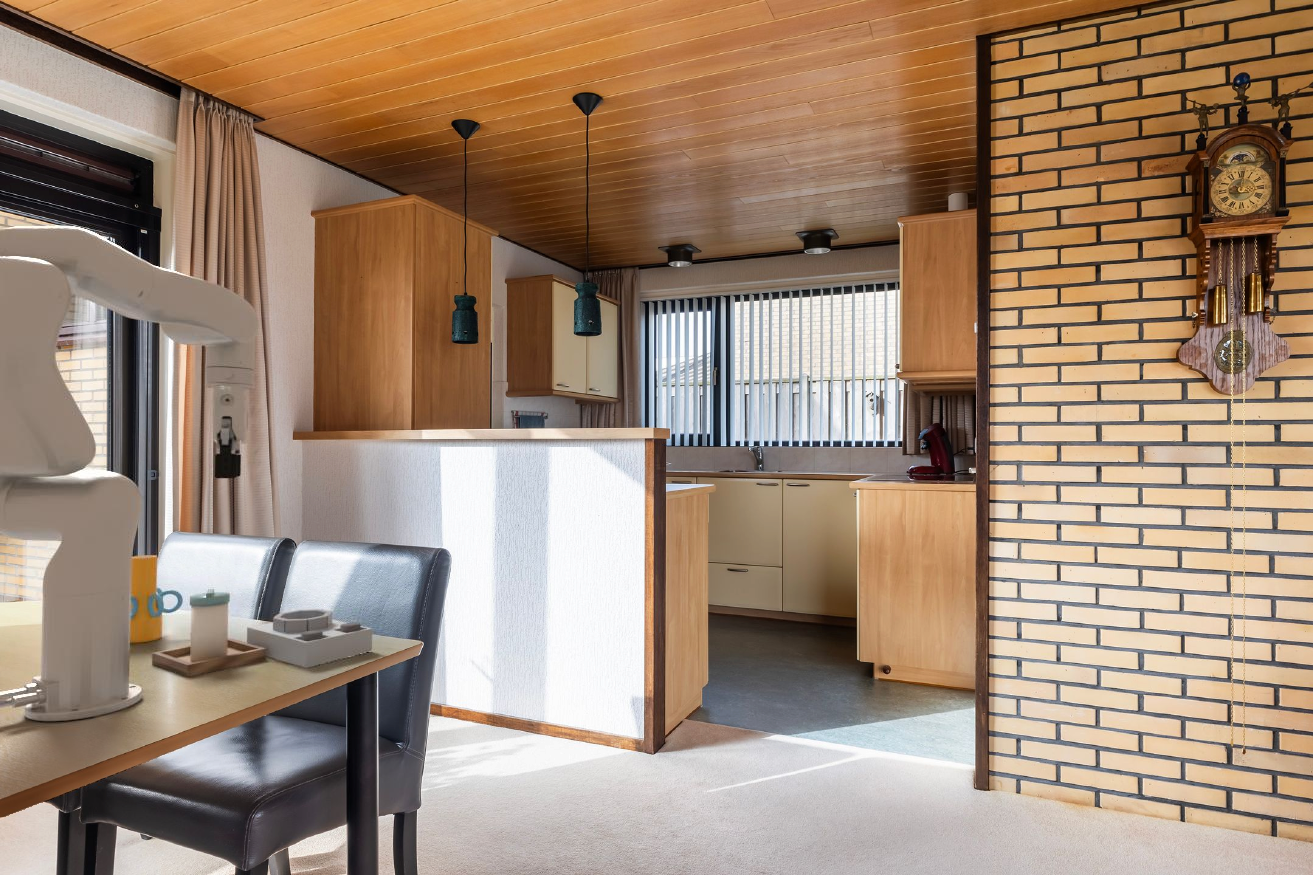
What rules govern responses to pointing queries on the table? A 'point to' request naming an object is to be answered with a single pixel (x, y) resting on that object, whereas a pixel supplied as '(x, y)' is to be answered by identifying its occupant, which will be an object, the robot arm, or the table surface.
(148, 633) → the cylinder
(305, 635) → the plunger left
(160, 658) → the tray
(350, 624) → the plunger right
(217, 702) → the table surface
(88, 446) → the robot arm
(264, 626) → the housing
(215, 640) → the cylinder
